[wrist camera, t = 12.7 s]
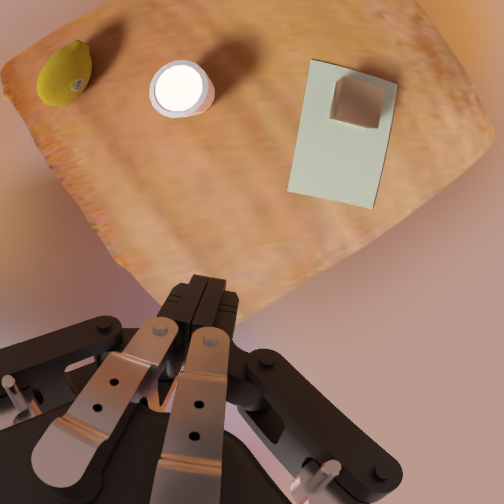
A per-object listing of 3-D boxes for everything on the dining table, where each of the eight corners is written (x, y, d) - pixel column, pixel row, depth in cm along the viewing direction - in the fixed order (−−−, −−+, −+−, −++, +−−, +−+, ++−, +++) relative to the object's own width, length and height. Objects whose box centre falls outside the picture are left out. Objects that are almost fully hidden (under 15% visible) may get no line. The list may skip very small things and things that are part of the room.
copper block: (336, 117, 29) (328, 118, 34) (378, 128, 29) (365, 128, 34) (343, 76, 27) (334, 82, 32) (384, 88, 27) (371, 93, 32)
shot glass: (215, 65, 32) (203, 53, 26) (223, 114, 35) (212, 110, 28) (166, 77, 33) (145, 69, 27) (173, 124, 36) (153, 124, 29)
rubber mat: (310, 59, 31) (310, 59, 31) (396, 84, 31) (397, 84, 31) (287, 190, 38) (287, 191, 38) (371, 208, 38) (372, 209, 38)
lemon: (71, 118, 35) (38, 121, 28) (50, 89, 33) (17, 88, 26) (117, 65, 32) (86, 57, 25) (92, 38, 30) (61, 27, 23)
